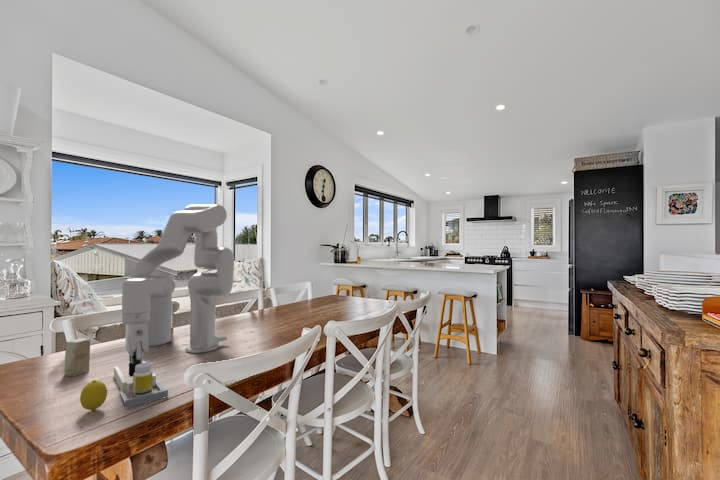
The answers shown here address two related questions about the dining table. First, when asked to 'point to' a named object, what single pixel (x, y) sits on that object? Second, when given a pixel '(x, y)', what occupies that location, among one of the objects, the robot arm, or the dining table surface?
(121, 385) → the chute
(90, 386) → the lemon
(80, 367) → the box
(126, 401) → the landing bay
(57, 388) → the dining table surface
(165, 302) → the cylinder vase
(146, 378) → the supplement bottle
